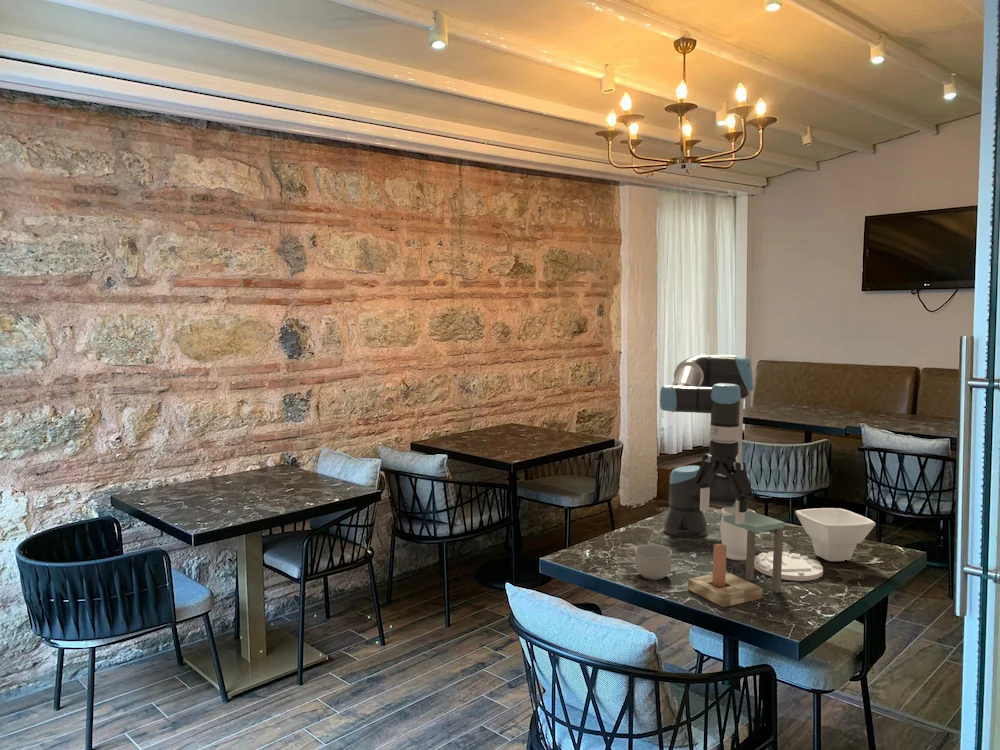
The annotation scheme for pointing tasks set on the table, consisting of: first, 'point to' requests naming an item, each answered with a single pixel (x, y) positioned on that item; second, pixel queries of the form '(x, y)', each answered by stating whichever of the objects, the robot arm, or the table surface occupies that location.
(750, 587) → the socket block
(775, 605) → the table surface
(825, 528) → the bowl
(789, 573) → the white round plaque
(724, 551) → the peg
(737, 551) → the jar
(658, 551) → the teacup
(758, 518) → the green-topped stool
